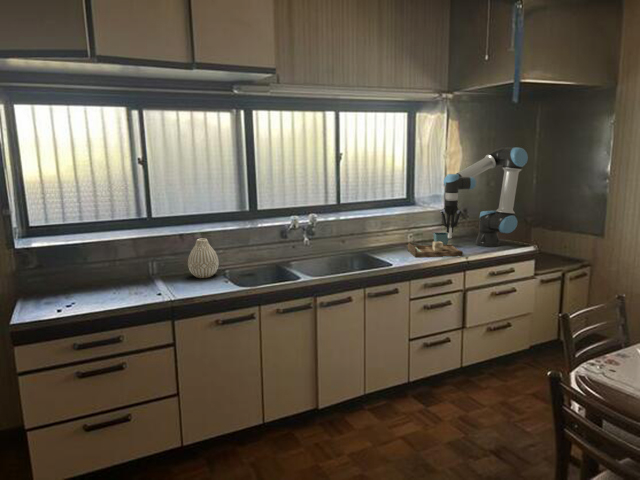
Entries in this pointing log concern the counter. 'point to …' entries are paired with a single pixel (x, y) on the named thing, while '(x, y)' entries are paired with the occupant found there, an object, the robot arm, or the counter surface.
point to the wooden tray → (429, 252)
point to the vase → (203, 259)
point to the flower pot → (441, 238)
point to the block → (438, 246)
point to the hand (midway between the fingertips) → (449, 237)
